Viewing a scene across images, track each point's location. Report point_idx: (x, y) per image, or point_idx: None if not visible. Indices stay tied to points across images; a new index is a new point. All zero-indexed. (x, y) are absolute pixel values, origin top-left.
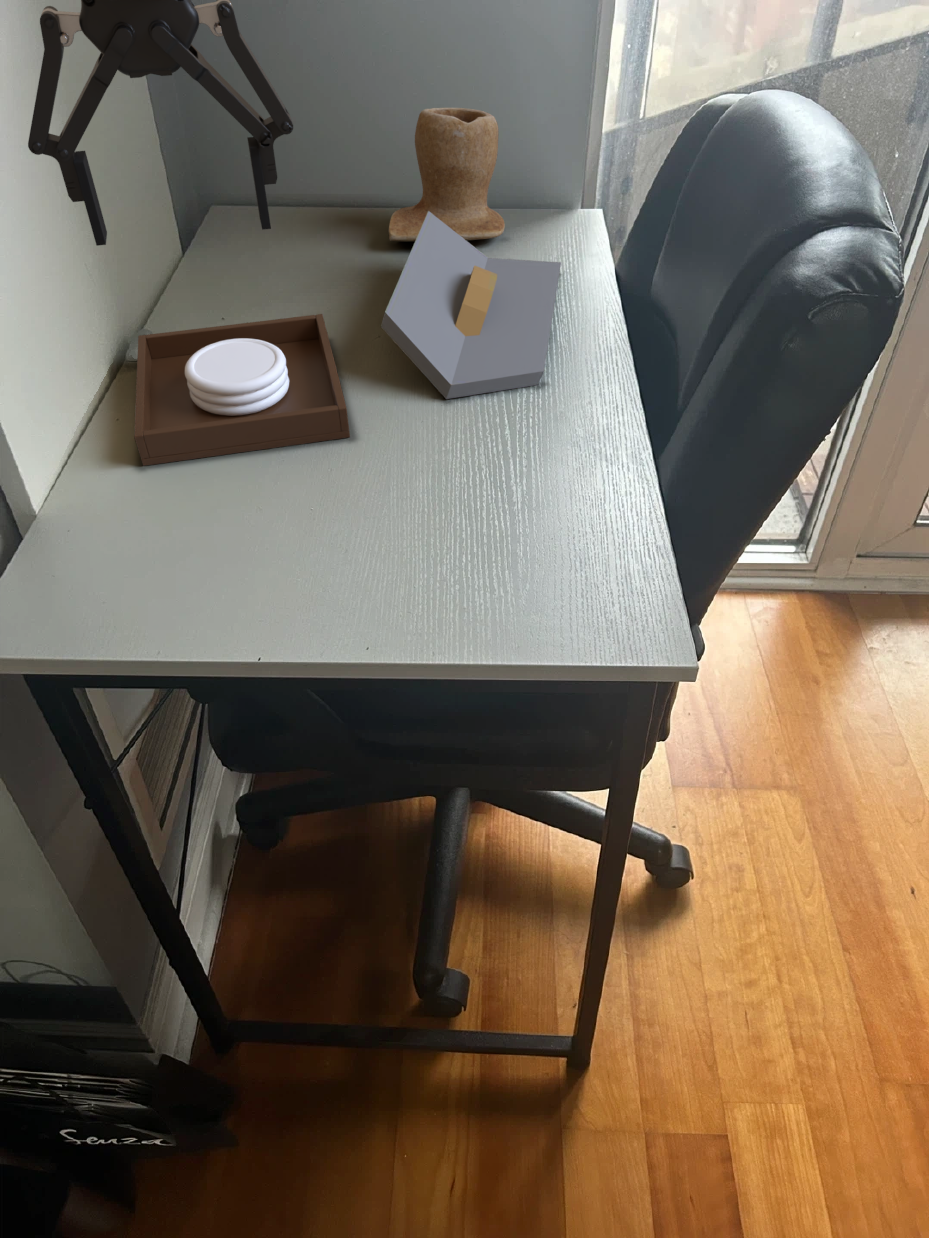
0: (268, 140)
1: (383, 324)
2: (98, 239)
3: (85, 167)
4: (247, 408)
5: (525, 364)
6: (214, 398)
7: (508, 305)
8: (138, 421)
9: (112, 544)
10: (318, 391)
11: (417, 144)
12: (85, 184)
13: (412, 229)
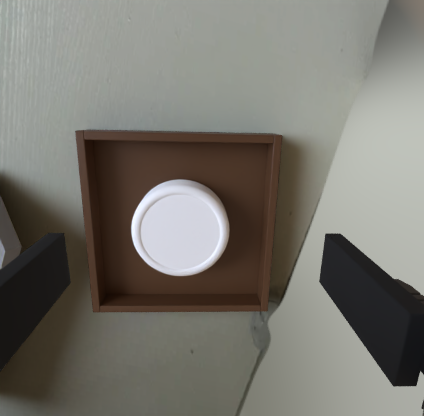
0: None
1: (16, 245)
2: (339, 237)
3: (397, 313)
4: (176, 180)
5: None
6: (204, 189)
7: None
8: (276, 160)
9: (307, 17)
10: (110, 205)
11: None
12: (387, 284)
13: None
